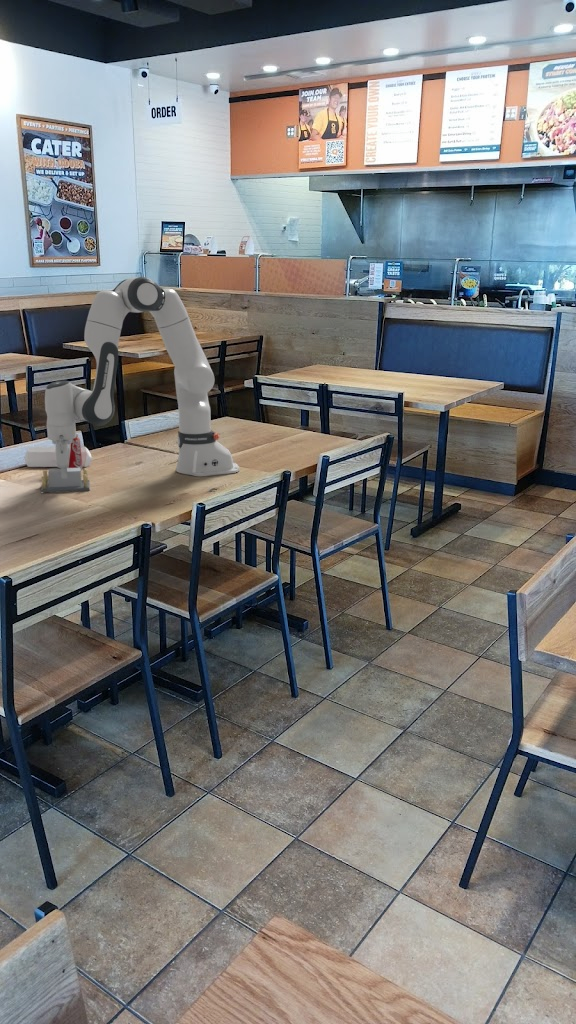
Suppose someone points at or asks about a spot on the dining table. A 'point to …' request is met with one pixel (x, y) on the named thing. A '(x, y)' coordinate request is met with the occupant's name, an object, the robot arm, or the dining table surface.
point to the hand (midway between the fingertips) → (64, 474)
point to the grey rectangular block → (71, 479)
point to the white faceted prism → (51, 457)
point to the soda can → (75, 454)
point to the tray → (46, 487)
